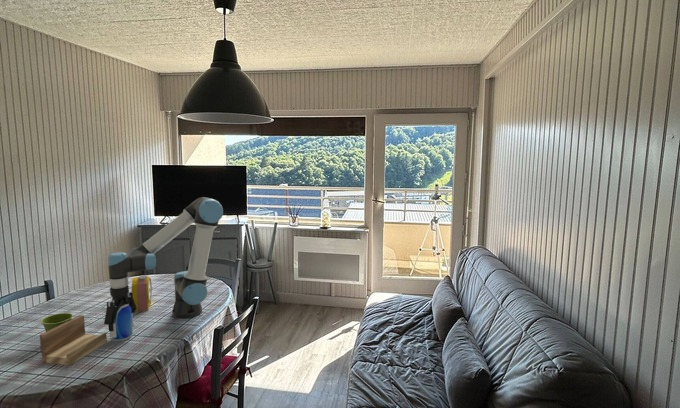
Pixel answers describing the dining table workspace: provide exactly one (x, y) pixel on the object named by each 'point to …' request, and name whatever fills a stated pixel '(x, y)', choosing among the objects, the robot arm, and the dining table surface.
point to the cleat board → (69, 342)
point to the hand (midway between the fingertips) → (122, 331)
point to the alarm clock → (142, 292)
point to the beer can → (123, 323)
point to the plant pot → (55, 320)
